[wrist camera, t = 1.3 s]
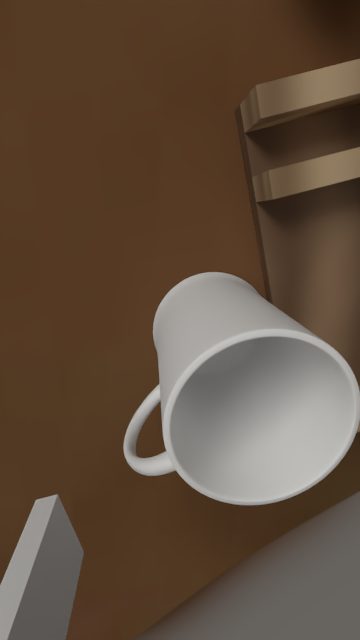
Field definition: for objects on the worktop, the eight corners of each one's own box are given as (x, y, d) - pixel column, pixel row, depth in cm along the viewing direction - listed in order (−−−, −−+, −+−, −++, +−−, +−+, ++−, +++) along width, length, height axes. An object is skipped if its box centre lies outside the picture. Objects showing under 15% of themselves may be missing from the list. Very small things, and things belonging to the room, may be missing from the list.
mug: (158, 422, 27) (164, 576, 15) (92, 338, 24) (40, 447, 13) (287, 343, 26) (398, 445, 14) (232, 247, 23) (313, 276, 12)
